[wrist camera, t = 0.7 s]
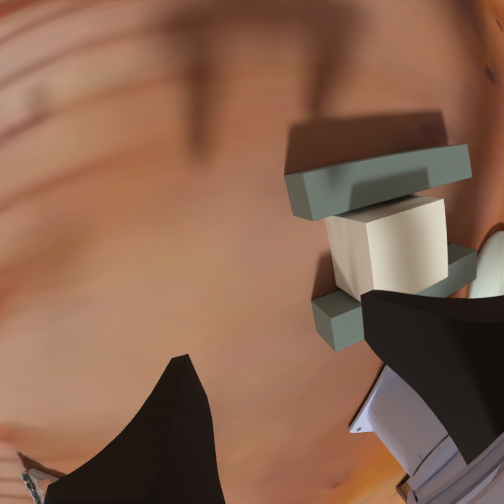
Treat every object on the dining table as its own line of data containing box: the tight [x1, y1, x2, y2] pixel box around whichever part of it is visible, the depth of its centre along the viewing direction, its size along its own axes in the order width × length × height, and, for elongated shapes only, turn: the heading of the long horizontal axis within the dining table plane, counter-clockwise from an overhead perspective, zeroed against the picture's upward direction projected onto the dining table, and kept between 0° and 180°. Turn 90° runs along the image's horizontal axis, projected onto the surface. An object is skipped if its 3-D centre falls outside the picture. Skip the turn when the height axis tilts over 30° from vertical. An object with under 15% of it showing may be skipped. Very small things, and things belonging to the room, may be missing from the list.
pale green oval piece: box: [467, 231, 504, 298], centre depth 24 cm, size 11×11×1 cm
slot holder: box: [284, 144, 477, 352], centre depth 18 cm, size 14×11×3 cm
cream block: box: [324, 195, 448, 302], centre depth 17 cm, size 6×5×5 cm
